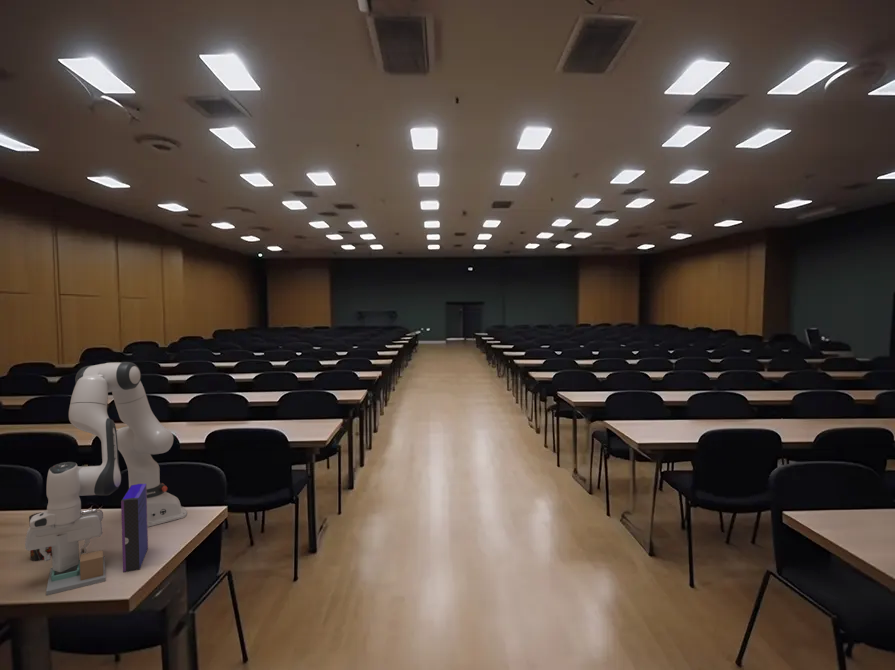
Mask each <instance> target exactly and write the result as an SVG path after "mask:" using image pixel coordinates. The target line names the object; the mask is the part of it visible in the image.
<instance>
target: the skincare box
mask: <svg viewBox="0 0 895 670" xmlns="http://www.w3.org/2000/svg"><path fill="white" fill-rule="evenodd" d="M79 547H80V545H79V541H76V542H71V543H68V541H67V533H65V534H60V535H56V546H52V556H51V562H52V564H51V565H52V567H53V570H54V571H57V572H62V571H65V570H67V569H69V568H72V567H74V566H76V565H78V564H79V560H80V550H79V549H80V548H79ZM52 567H51V568H52Z"/></svg>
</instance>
